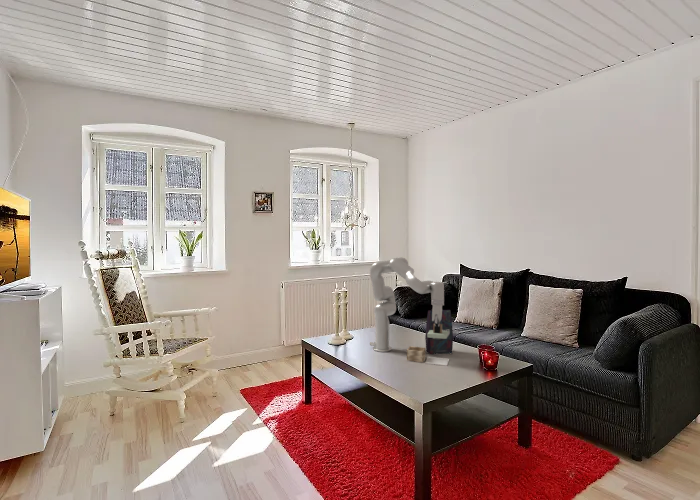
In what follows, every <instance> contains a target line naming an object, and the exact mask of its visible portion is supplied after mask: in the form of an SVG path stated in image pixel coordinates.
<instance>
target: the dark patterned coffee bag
mask: <svg viewBox="0 0 700 500" xmlns="http://www.w3.org/2000/svg"><path fill="white" fill-rule="evenodd" d="M425 324H426V325H425V334H424V335H425V337H424V338H425V339H424V341H425V352H426V353H427V354H429V355H448V354H449V355H450V353H451V354H453V346H454V345H453V342H454V341H453V340H454V333H453V332H454V331H453V330H454V329H453V320H452V313H451V309H442V319H441V324H442V331H448V336H447V338H446V339H443V338H429V337H427V333H428V332H429V330H433V324H435V320H434V321H432V309H431V310H427V317H426V323H425Z"/></svg>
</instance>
